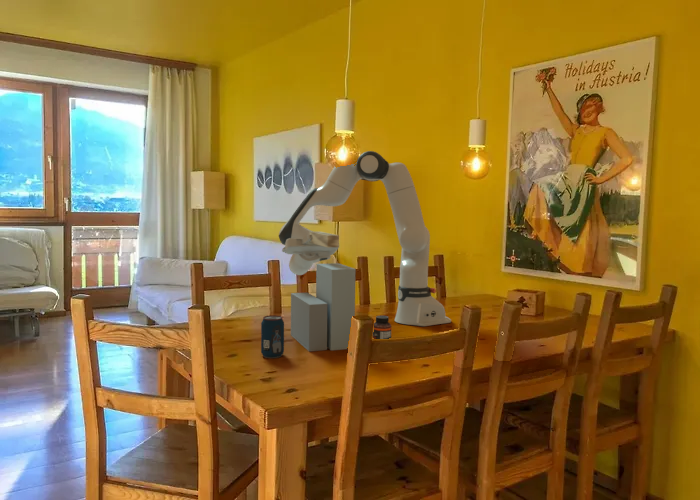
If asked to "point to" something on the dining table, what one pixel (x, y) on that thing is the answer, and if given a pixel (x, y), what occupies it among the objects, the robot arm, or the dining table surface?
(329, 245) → the bar
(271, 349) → the soda can
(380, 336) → the supplement bottle
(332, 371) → the dining table surface
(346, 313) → the grey tall block
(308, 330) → the step
